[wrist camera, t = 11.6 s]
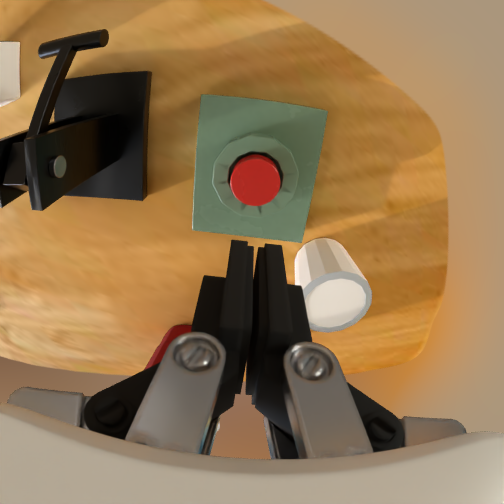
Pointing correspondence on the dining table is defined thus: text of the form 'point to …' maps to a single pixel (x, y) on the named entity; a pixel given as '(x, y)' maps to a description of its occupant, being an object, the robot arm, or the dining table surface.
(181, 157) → the dining table surface
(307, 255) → the white cup
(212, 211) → the button box
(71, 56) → the lever
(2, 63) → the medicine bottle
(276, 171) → the button
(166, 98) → the dining table surface
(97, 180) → the bracket
